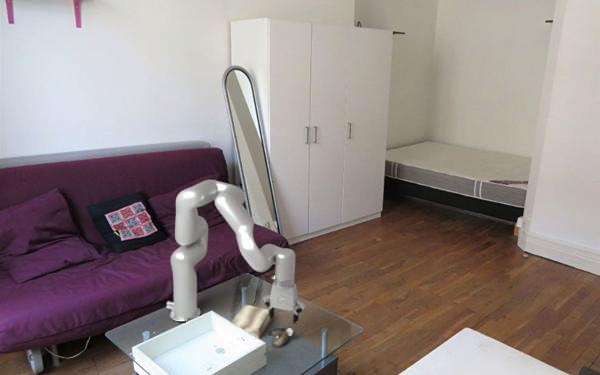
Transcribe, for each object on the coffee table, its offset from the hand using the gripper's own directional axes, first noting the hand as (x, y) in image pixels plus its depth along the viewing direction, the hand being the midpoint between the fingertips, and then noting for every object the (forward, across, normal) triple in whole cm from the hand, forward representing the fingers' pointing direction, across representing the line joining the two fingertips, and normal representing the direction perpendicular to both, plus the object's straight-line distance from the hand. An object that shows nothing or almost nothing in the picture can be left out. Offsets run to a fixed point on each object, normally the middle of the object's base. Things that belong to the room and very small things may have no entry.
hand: (283, 319), depth 184 cm
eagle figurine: (+10, -1, -1) cm, 10 cm away
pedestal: (+9, -15, +4) cm, 18 cm away
